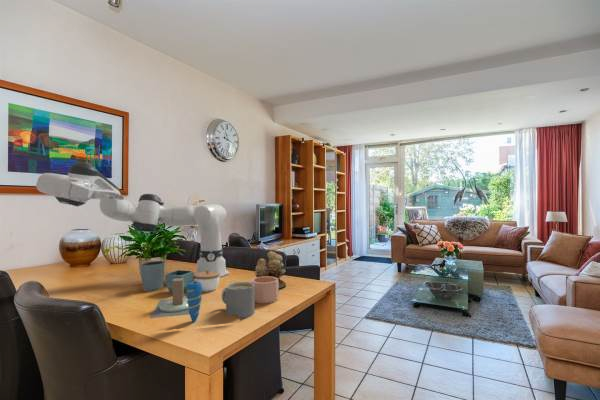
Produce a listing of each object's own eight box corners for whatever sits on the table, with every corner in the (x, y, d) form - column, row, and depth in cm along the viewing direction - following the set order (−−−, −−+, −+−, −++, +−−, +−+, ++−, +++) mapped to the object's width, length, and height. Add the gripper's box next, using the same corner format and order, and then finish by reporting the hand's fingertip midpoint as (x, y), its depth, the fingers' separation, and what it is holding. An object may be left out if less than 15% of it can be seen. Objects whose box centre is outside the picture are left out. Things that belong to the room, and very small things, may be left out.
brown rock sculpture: (276, 282, 151) (276, 247, 152) (292, 286, 143) (293, 250, 143) (246, 289, 138) (246, 252, 138) (263, 295, 130) (263, 255, 130)
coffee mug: (260, 312, 109) (259, 285, 109) (237, 321, 102) (237, 291, 102) (237, 304, 118) (237, 278, 118) (215, 311, 110) (214, 284, 111)
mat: (160, 301, 122) (160, 299, 122) (201, 298, 126) (201, 296, 126) (149, 320, 103) (149, 318, 103) (198, 315, 107) (198, 313, 107)
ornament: (182, 324, 99) (182, 278, 99) (195, 319, 104) (195, 275, 104) (192, 327, 96) (192, 280, 96) (205, 322, 101) (205, 277, 101)
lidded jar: (212, 295, 130) (212, 273, 130) (190, 294, 132) (190, 272, 132) (224, 288, 141) (223, 268, 141) (202, 287, 143) (202, 267, 143)
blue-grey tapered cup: (165, 289, 140) (165, 263, 140) (140, 292, 135) (140, 265, 135) (163, 284, 148) (163, 259, 149) (140, 287, 143) (139, 262, 144)
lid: (162, 302, 119) (162, 276, 119) (197, 299, 123) (197, 274, 123) (156, 313, 107) (156, 285, 107) (195, 310, 110) (194, 282, 110)
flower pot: (164, 294, 131) (164, 274, 131) (178, 289, 140) (177, 269, 140) (181, 296, 129) (181, 275, 129) (194, 290, 137) (194, 270, 137)
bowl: (249, 296, 128) (249, 277, 128) (275, 294, 131) (275, 275, 131) (252, 304, 117) (252, 284, 117) (280, 302, 120) (280, 282, 120)
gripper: (97, 198, 128) (129, 205, 128) (59, 197, 108) (97, 205, 108) (100, 184, 128) (132, 191, 129) (63, 179, 108) (101, 187, 108)
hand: (116, 197), depth 118 cm, fingers open, 8 cm apart
